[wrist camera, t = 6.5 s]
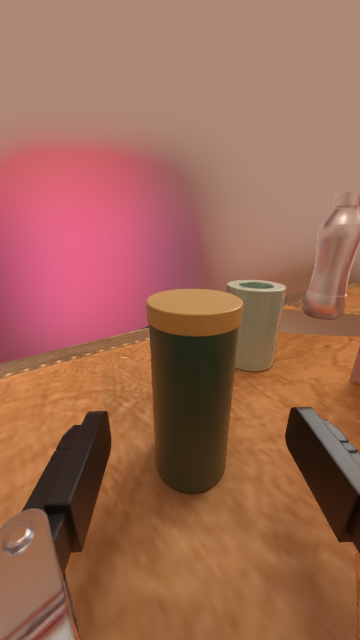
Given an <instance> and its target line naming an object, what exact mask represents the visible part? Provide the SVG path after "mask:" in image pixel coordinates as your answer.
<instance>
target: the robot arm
mask: <svg viewBox="0 0 360 640" xmlns="http://www.w3.org/2000/svg"><path fill="white" fill-rule="evenodd" d="M285 439H286V444H287V447H288V449H289V451H290V453H291V455H292V457H293V459H294V461H295V462H296V464H297V466H298V468H299V470H300V472H301V473H302V475H303V477H304V479H305V481H306V483H307V484H308V486H309V488H310V490H311V492H312V493H313V495H314V497H315V499H316V501H317V503H318V504H319V506H320V508H321V510H322V512H323V514H324V515H325V517H326V519H327V521H328V523H329V525H330V526H331V528H332V530H333V532H334V534H335V536H336V537H337V539H338V541H339V542H353V543H354V545H355V547H356V548H357V550H358V552H357V555H356V579H357V636H356V640H360V453H358V451H357V449H356V448H355V447H354V446H353V445H352V443H349V440H348V439H347V438H346V437H345V435H344V434H343V433H342V432H341V431H340V430H339V429H338V428H337V427H335V426H334V425H333V424H331V423H330V422H329V421H327V420H322V419H321V418H320V416H319V415H318V414H317V413H316V411H315V410H314V409H313V408H311V407H293V408H291V410H290V414H289V419H288V423H287V428H286V433H285ZM110 450H111V432H110V425H109V418H108V413H107V411H90V412H88V413H87V414H86V416H85V418H84V421H83V423H82V425H74V426H73V427H72V428H71V429H69V430H68V431H67V432H66V433H65V434H64V435H63V437H62V439H61V441H60V442H59V444H58V446H57V448H56V451H55V452H54V454H53V455H52V457H51V461H49V463H48V465H47V466H46V468H45V470H44V472H43V474H42V476H41V478H40V479H39V481H38V483H37V485H36V487H35V489H34V490H33V492H32V494H31V496H30V498H29V500H28V502H27V503H26V505H25V507H24V508H23V510H22V511H21V512H20V513H18V514H16V515H15V516H13V517H12V518H10V519H9V520H8V521H7V522H6V523H5V524H4V525H3V526H2V527H1V528H0V640H82V639H81V635H80V631H79V627H78V622H77V618H76V614H75V610H74V606H73V602H72V598H71V594H70V590H69V586H68V582H67V578H66V574H65V570H66V567H67V564H68V560H69V557H70V554H71V553H73V552H82V550H83V546H84V543H85V539H86V536H87V532H88V529H89V525H90V522H91V518H92V515H93V511H94V508H95V504H96V500H97V497H98V493H99V490H100V486H101V483H102V479H103V476H104V472H105V469H106V465H107V462H108V458H109V455H110Z"/></svg>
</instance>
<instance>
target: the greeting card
mask: <svg viewBox="0 0 360 640" xmlns="http://www.w3.org/2000/svg"><path fill="white" fill-rule="evenodd" d="M349 381H352V382H357V383H360V347H359V351H358V354H357V357H356V360H355V364H354V367H353V370H352V373H351V377H350V380H349Z"/></svg>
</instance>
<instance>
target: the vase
mask: <svg viewBox="0 0 360 640" xmlns="http://www.w3.org/2000/svg"><path fill="white" fill-rule="evenodd" d="M227 293H229V294H232V295H235V296H237V297H239V298H240V299H241V300H242V301H243V310H242V320H241V324H240V325H239V329H238V339H237V349H236V359H235V368H237V369H241V370H245V371H264V370H267V369H269V368H270V367H272V365H273V363H274V359H275V353H276V347H277V341H278V335H279V329H280V323H281V316H282V311H283V305H284V299H285V293H286V287H285V286H284V285H282V284H279V283H274V282H269V281H261V280H239V281H232V282H229V283H228V284H227Z"/></svg>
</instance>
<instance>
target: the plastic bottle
mask: <svg viewBox="0 0 360 640" xmlns="http://www.w3.org/2000/svg"><path fill="white" fill-rule="evenodd" d="M332 207H333V208H334V210H333V212H332V213H331V214H330V216H329V217H328V218H327V219H326V220H325V221H324V222H323V223H322V225H321V226H320V228H319V230H318V235H317V237H318V239H317V250H316V259H315V266H314V272H313V275H312V278H311V282H310V285H309V288H308V291H307V292H306V295H305V297H304V300H303V310H304V312H305V314H306V315H308V316H311V317H314V318H319V319H328V320H331V319H337V318H338V317H339V316H341V315H342V313H343V311H344V309H345V307H346V292H347V286H348V280H349V274H350V271H351V266H352V265H353V262H354V259H355V256H356V253H357V251H358V249H359V247H360V213H359V207H360V192H345V193H338V194H336V195H335V199H334V203H333V205H332Z"/></svg>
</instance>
